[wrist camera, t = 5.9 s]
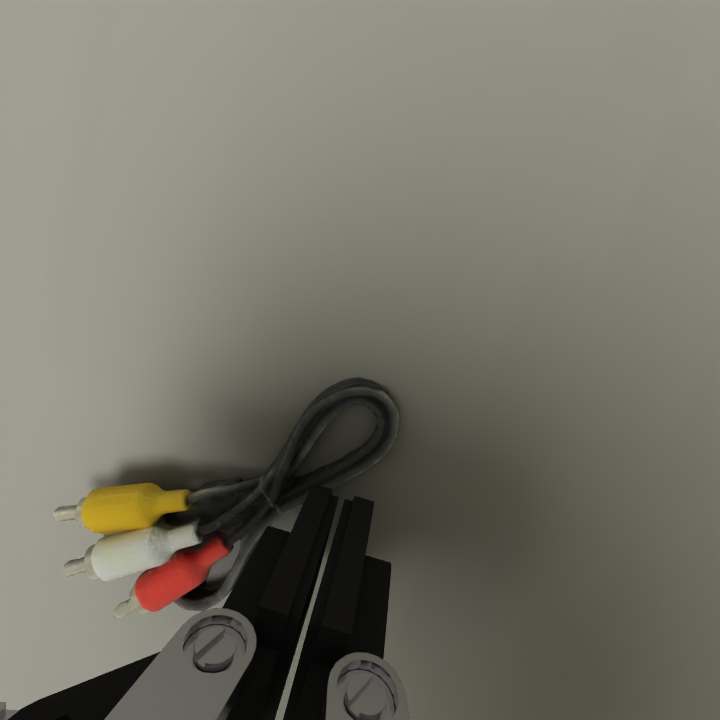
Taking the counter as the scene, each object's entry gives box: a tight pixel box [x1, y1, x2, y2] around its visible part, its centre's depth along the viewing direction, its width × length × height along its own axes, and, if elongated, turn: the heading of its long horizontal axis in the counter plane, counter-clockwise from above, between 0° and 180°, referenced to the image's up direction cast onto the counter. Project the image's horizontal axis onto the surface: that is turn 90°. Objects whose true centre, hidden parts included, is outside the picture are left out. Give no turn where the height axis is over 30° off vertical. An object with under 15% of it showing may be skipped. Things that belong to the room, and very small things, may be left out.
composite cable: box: [53, 377, 399, 618], centre depth 12 cm, size 10×5×2 cm, turn 116°
